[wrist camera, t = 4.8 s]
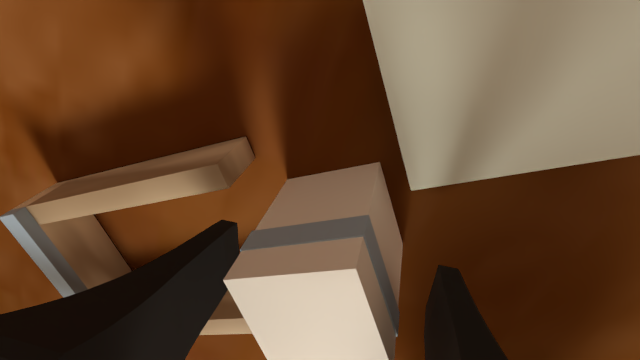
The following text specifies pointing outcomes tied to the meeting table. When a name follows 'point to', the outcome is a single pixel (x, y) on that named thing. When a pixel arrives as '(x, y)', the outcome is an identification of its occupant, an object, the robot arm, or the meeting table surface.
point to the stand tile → (508, 84)
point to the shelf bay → (112, 194)
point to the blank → (323, 269)
